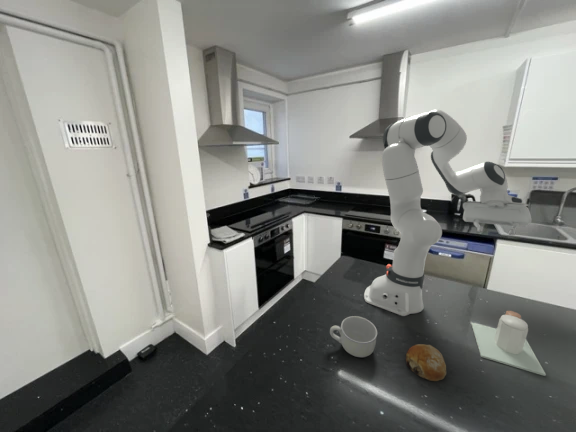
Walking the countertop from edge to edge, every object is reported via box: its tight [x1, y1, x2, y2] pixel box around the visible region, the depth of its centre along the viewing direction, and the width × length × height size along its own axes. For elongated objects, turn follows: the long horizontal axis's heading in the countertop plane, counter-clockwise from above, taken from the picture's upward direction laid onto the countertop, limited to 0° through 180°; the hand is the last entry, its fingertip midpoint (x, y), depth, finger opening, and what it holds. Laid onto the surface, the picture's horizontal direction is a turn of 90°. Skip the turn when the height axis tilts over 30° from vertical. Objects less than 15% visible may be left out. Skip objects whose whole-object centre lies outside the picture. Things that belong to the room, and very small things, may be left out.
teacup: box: [329, 315, 378, 358], centre depth 75 cm, size 14×11×8 cm
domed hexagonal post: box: [494, 314, 529, 354], centre depth 73 cm, size 6×6×9 cm
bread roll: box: [405, 343, 447, 382], centre depth 68 cm, size 10×10×8 cm
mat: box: [471, 322, 547, 377], centre depth 75 cm, size 14×16×1 cm
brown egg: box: [504, 310, 522, 319], centre depth 86 cm, size 4×4×3 cm
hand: (495, 232), depth 91 cm, fingers open, 8 cm apart
